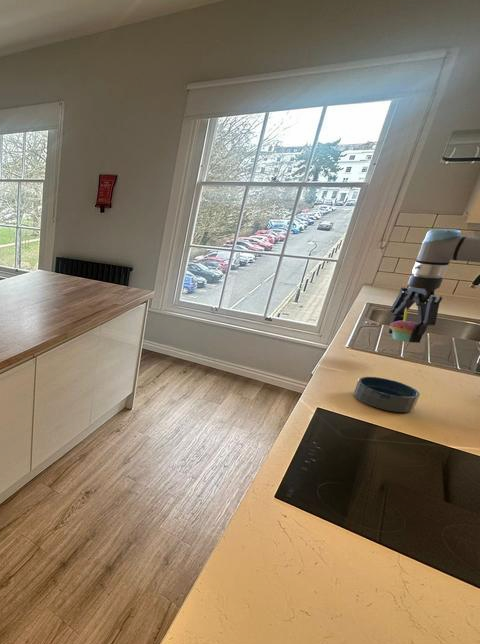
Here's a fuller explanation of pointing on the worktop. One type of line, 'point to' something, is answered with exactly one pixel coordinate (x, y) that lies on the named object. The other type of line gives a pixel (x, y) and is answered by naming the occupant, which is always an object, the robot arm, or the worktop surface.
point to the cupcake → (402, 328)
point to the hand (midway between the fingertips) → (403, 337)
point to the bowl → (386, 394)
